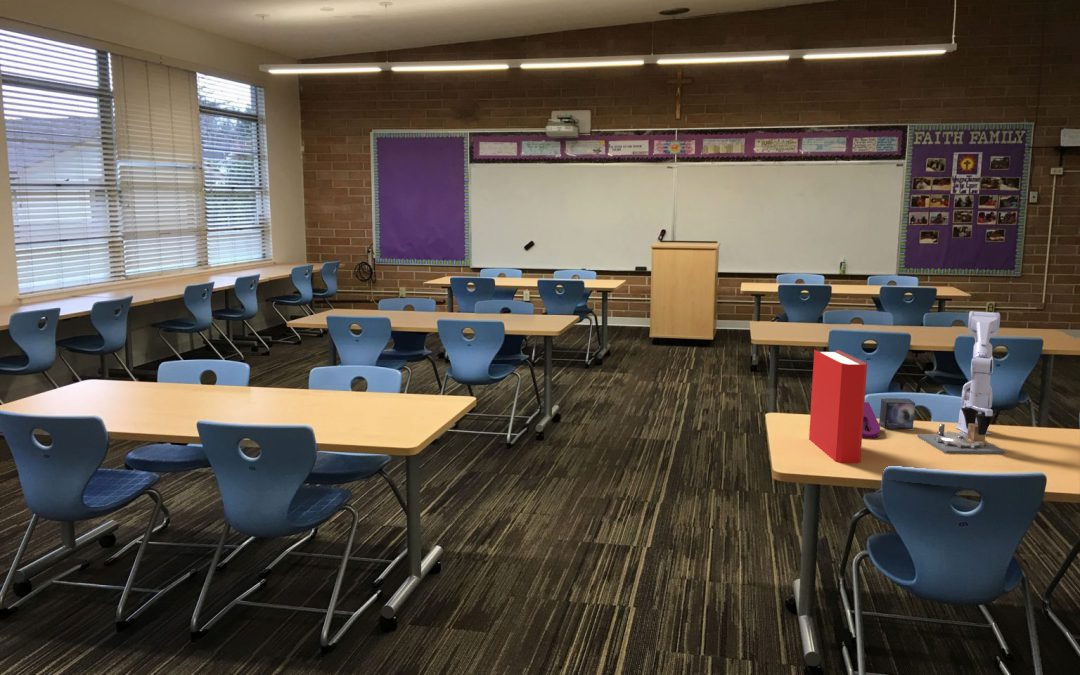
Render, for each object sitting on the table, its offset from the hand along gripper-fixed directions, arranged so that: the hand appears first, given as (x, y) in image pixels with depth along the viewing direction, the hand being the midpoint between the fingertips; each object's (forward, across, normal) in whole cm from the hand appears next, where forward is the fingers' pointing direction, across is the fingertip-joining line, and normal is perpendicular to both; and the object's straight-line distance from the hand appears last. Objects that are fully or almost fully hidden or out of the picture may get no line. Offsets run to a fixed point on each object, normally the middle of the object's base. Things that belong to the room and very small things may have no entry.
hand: (975, 431), depth 290 cm
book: (+6, +5, -50) cm, 51 cm away
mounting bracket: (+6, -19, -32) cm, 37 cm away
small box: (+6, -25, -16) cm, 30 cm away
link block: (+3, 0, 0) cm, 3 cm away
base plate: (+5, -2, -4) cm, 7 cm away
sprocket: (+4, -2, -4) cm, 6 cm away
